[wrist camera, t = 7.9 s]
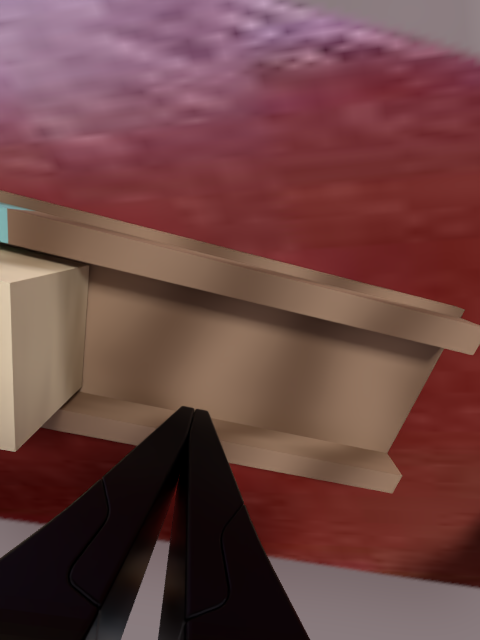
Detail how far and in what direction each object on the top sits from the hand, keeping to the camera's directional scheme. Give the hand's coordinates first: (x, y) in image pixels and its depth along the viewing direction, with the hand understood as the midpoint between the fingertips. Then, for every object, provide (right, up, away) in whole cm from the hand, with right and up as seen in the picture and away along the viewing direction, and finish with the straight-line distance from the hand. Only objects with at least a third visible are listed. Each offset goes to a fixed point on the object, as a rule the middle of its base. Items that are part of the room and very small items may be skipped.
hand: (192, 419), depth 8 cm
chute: (-2, +2, +5) cm, 5 cm away
